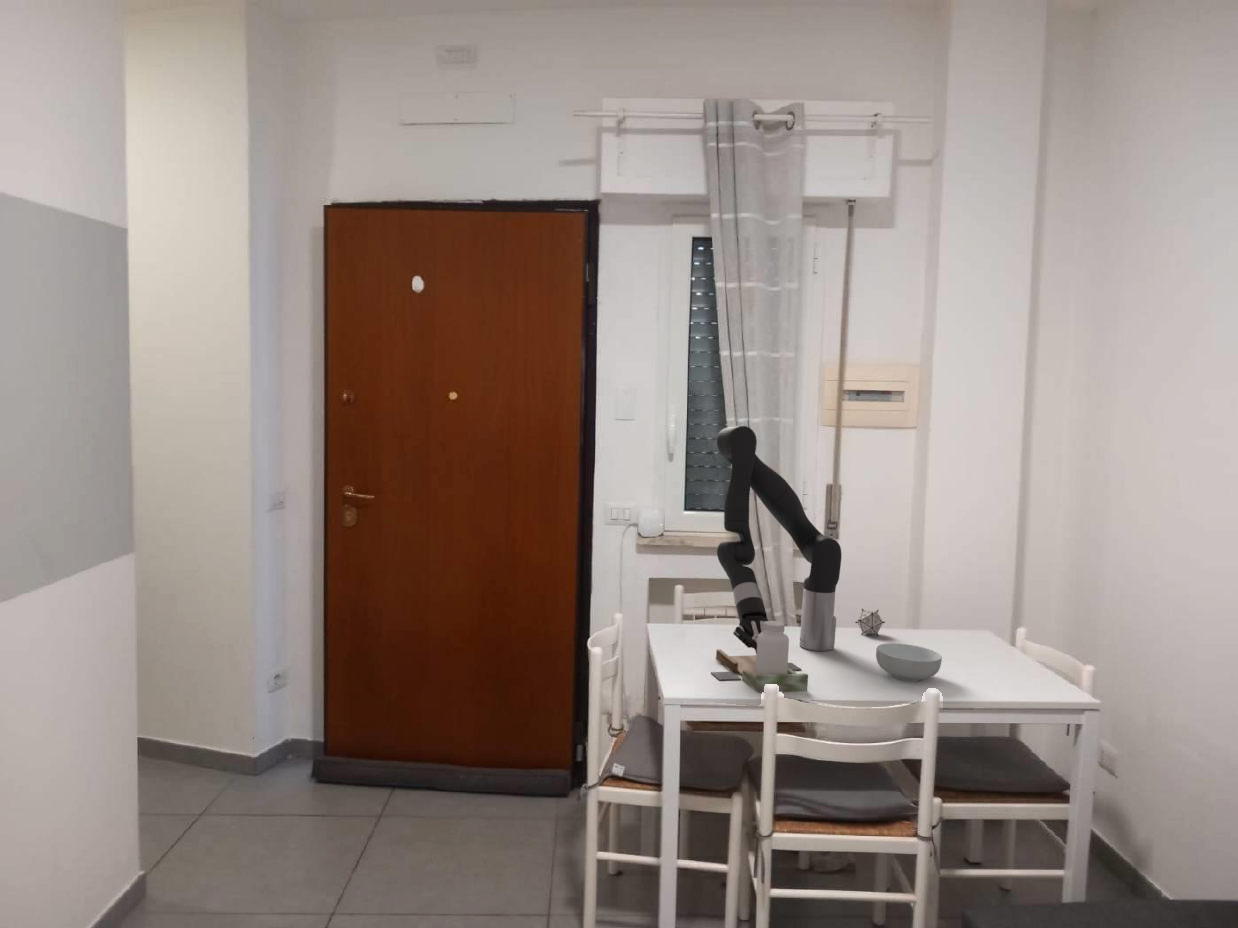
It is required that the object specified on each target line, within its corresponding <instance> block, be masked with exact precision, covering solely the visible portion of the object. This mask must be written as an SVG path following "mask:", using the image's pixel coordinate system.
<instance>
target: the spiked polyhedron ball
mask: <svg viewBox="0 0 1238 928" xmlns="http://www.w3.org/2000/svg"><path fill="white" fill-rule="evenodd" d="M878 612H879V609H877V610H876V611H875V610H872V611H871V610H864V608H861V614H860V616H859V617H858V619H857V621H854V623H855V624H857V625H858V626H859V628H860V631H861V634H860V635H861V636H863V635H864V634H867V635H868V634H869V635H870V634H871V635H876V636H877V637H879V634H878V633H879V631H880V629H881V627H882V625H883V624H885V623H886V621H883V620H882V617H881V616H880V615H879V613H878Z"/></svg>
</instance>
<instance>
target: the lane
mask: <svg viewBox="0 0 1238 928" xmlns="http://www.w3.org/2000/svg"><path fill="white" fill-rule="evenodd" d="M715 654H716V655H715V659H716V660H717V661H718V662H720V663H721V664H722V665H724V666H725V667H726V668H727V669H728V670H730V671H711V672H710V674H711V675H712V676H713V677H714V678H715V679H716V680H718V681H720V682H723V681H741V680H742V681H743V682H744V683H745V684H746V685H747V686H749V687H750V688H751V689H753V690H754V691H755V692H757V693H760V694H761V693H765V692H764V686H765V684H777V685H778V686H779V692H778V693H784V692H785V693H787V692H803V691H804V692H807V691H808V684H809V683H808V682H809V674H808V673H797V671H802V668H800V667H798V666H797V665H796V664H795V663H793V662H788V668H787V674H777V675H757V677H756V676H755V675H756V656H757V655H756V654H754V655H753V654H752V655H751V654H750V655H728V654H727V653H725V651H723V650H722V649H716V653H715ZM736 673H737V674H738V675H737V674H736ZM739 675H740V676H741V677H742V678H741V677H739Z"/></svg>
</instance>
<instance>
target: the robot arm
mask: <svg viewBox="0 0 1238 928" xmlns="http://www.w3.org/2000/svg"><path fill="white" fill-rule="evenodd" d="M757 441H758V440H757V436H756V433H755V431H754V430H753V429H752V428H751V427H749V426H747V425H736V426H734V425H733V426H728V427H724V428H723V429H721V430H720V431H719V432H718V434H717V437H716V445H717V449H718V451H719V453H720V454H721V455H722V457H724V458H725V459H726V461H728V463H730V465H731V475H730V480H729V484H728V487H727V491H726V494H725V498H724V505H723V506H724V507H723V508H724V510H723V511H724V513H723V526H724V527H723V528H724V529H725V531H726V532H728V533H729V532H730V533H735V534H737V535H738V537H739V540H722V541H721V542H719V544H718V546H717V549H716V556H717V561H718V562H719V564H720V566H721V567H722V569H723V570H724V572H725V574H726V576H727V577H728V578H729V581H730V585H731V589H732V592H733V593H732V594H733V601H734V605H735V608H736V612H737V617H738V620H739V624H738V626H736V628H735V629H734V631H733V633H732V634H733V635H734V636H735V637H736V638H737V639H738V640H739V641H740V642H742V643H743V644H744V645H745V646H746V647H747V648H748V649H751V648H752V649H754V651H755V655H757V638H758V635H759V634H760V633H761V632H764V631H763V629H764V628H763V623H764V622H765V621H770V620H769V619H768V616H767V611H766V608H765V604H764V600H763V596H762V593H761V590H760V588H759V585H758V582H757V578H756V575H755V572H754V570H753V568H751V567H749V566H750V565H751V564H752V563H753V562H754V560H755V559H756V558H755V557H756V552H755V551H756V549H755V546H754V542H753V538H752V534H751V530H750V496H751V493H750V491H751V489H752V491H753V492H754V493H755V494H756V496H757V498H758V499H759V501H761V504H763V505H764V507H765V508H766V509H767V510H768V511H769V513H770V514H771V515H772V517H773V518H774V519H775V520H776V521H777V522H778V523H779V524H780V526H782V528H783V529H784V530H785V531H786V532H787V533H788V534H789V536H790V537H791V539H792V540H793V542H794V543H795V546H796V547H797V548H798V550H799V552H800V553H801V554H802V557H803V558H804V559H805V560H806V561H807V562H808V563H810V570H809V571H810V572H809V575H808V577H806V578H804V580H803V589H802V590H803V591H802V605H801V620H800V621H801V622H800V636H799V646H800V647H801V648H803V649H806V650H810V651H816V652H820V651H821V652H824V651H825V652H826V651H830V650H835V643H836V641H835V640H836V629H837V628H836V627H837V617H836V616H835V615H834V614H835V602H836V601H835V600H836V588H837V585H838V583H839V580H840V575H841V566H842V548H841V545H840V543H839V542H838V541H837V540H836V539H834V538H832V537H829V536H827V535H824V534H823V533H821V532H820V531H819V530H818V528H816V526H815V525H814V524H813V523H812V522H811V521H810V519H809V518H808V516H807V515H806V513H805V512H806V511H805V510H804V507H803V505H802V503H801V500H800V498H799V496H798V495H797V493H796V492H795V490H794V489H793V488H792V487H791V485H790V484H789V483H788V482H787V480H786V479H784V477H783V476H781V475H780V474H779V473H778V472H776V471H775V470H774V469H772V468H771V467H770V466H768V465H767V464H766V463H765V462H763V461H762V460H761V459H760V458H759V456H758V455H757V454H756V451H757V444H758V443H757Z"/></svg>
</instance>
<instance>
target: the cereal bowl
mask: <svg viewBox="0 0 1238 928" xmlns="http://www.w3.org/2000/svg"><path fill="white" fill-rule="evenodd" d="M875 659H876V663H877V664H878V666H879V667H880V668H881V669H882V670H883V671H885V672H886V673H888V674H889V675H891V677H892V678H894V679H897V680H900V681H904V682H912V683H913V682H920V681H923V680H925V679H930V678H931V677H934V676H935V675H936V674H937V673H938V672H940V671H939V670H941V665H942V659H943V658H942V655H941V654H940V653H939V652H937V651H934V650H933V649H930V648H927V647H923V646H919V645H914V644H907V643H900V642H899V643H898V642H897V643H895V642H893V643H892V642H889V643H888V642H887V643H881V644H879V645H877V646H876V652H875Z"/></svg>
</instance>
